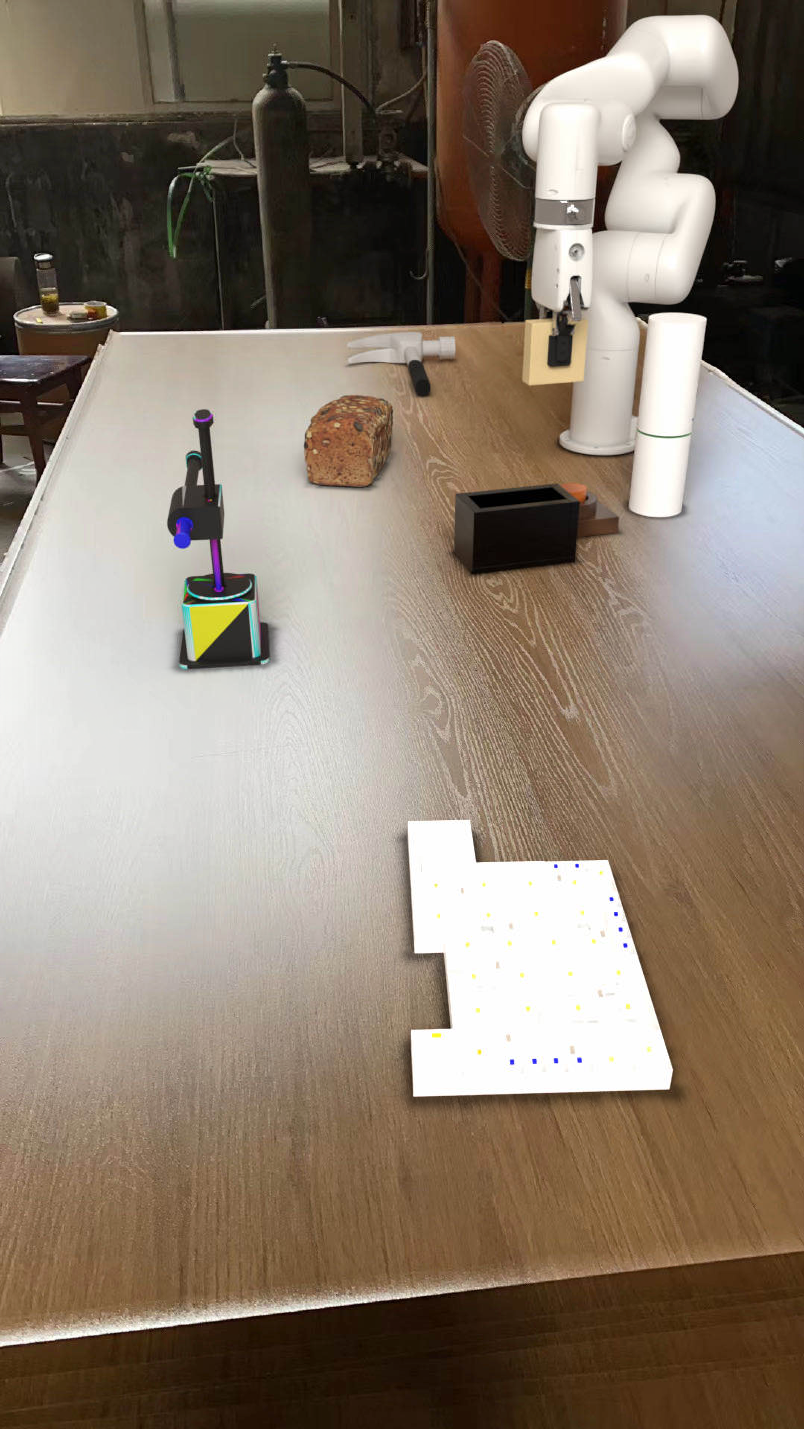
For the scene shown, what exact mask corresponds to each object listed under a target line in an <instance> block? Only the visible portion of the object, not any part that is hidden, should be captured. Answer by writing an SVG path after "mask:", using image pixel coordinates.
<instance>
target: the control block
mask: <svg viewBox="0 0 804 1429" xmlns="http://www.w3.org/2000/svg"><path fill="white" fill-rule="evenodd" d="M619 521H620V516H618V515H617V514H616V513H615V512H613V511H612V510H611V509H610V508H608V507H607V506H605V504H603V503H602V502H600V501H599V497H598V496H597V495H595V494H594V493H593V492H590V491H587V493H586V501H584V502H580V508H579V520H578V532H577V538H584V537H590V536H591V537H592V536H601V535H608V534H609V535H611V534H617V533H618V531H619Z"/></svg>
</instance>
